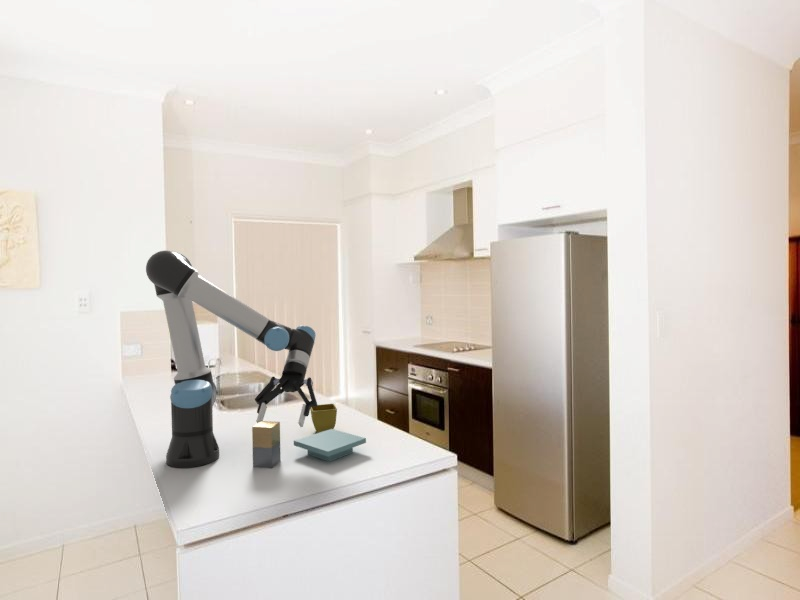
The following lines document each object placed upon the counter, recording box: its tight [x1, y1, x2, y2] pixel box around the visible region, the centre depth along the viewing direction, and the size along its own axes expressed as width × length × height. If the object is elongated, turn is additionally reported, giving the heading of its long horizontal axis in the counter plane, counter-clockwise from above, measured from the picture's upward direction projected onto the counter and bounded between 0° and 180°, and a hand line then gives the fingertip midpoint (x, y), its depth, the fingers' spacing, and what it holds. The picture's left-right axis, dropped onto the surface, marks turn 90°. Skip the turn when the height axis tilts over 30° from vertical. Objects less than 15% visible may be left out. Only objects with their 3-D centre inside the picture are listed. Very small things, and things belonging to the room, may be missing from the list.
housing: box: [251, 420, 281, 469], centre depth 151 cm, size 6×6×12 cm
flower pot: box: [310, 403, 338, 434], centre depth 182 cm, size 9×9×9 cm
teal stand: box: [293, 428, 367, 462], centre depth 159 cm, size 16×16×4 cm
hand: (279, 424), depth 156 cm, fingers open, 13 cm apart
